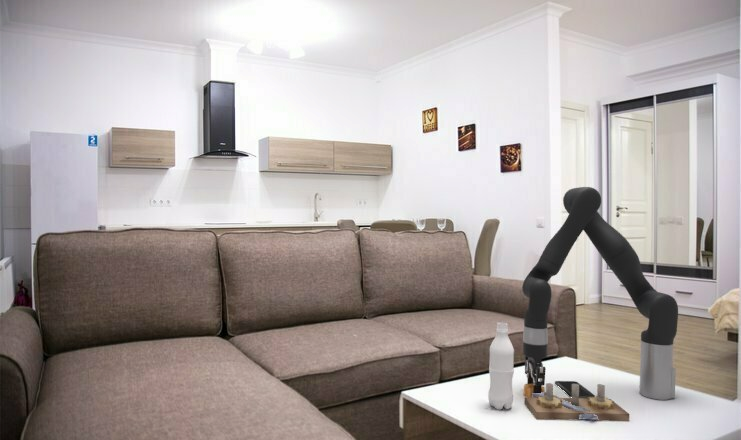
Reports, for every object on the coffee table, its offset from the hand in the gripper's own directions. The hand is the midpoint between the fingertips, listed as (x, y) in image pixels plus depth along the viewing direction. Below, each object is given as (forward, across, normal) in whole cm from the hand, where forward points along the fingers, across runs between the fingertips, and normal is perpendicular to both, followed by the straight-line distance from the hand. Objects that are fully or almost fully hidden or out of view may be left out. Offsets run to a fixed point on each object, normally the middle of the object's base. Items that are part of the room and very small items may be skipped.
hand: (534, 393), depth 168 cm
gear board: (+1, -13, -8) cm, 15 cm away
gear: (+1, 0, 0) cm, 1 cm away
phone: (+1, +6, -15) cm, 16 cm away
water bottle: (+1, -10, +13) cm, 16 cm away
